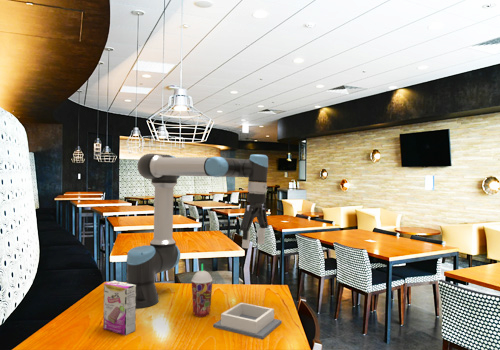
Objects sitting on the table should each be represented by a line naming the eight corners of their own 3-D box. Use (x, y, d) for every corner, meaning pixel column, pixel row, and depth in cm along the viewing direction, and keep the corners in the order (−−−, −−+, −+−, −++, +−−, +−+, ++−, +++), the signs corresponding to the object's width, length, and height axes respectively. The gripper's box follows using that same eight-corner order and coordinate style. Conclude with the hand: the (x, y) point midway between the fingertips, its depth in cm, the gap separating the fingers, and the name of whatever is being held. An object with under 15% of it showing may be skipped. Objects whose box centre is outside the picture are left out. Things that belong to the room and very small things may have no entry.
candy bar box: (102, 329, 129) (103, 283, 129) (113, 324, 133) (114, 279, 134) (125, 336, 124) (126, 288, 124) (136, 331, 128) (136, 284, 128)
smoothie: (208, 319, 140) (209, 266, 140) (187, 317, 141) (188, 265, 142) (214, 311, 148) (215, 262, 148) (195, 309, 150) (195, 260, 150)
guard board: (213, 327, 132) (213, 313, 132) (235, 313, 146) (235, 300, 147) (262, 339, 123) (262, 324, 123) (281, 323, 137) (281, 309, 137)
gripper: (250, 193, 134) (247, 251, 134) (277, 193, 156) (274, 243, 156) (233, 192, 138) (229, 248, 137) (261, 192, 160) (258, 240, 159)
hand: (253, 245), depth 147 cm, fingers open, 13 cm apart
